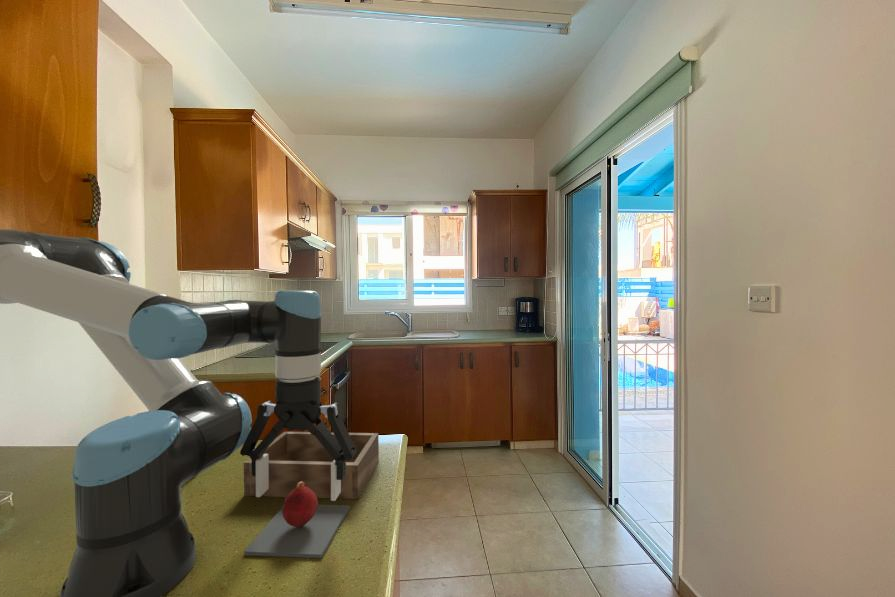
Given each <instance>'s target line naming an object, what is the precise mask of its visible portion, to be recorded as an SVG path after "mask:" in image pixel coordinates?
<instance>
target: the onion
mask: <svg viewBox="0 0 895 597" xmlns="http://www.w3.org/2000/svg"><path fill="white" fill-rule="evenodd" d="M304 484H305V483H304V482H302V481H301V482H299V483H298V484H297V486H296V488H295V489H293V490H292V491H291V492H290V493H289V494H288V495H287V497H285V499H284V500H283V505H282V507H283V509H282V514H283V517H284V519H285V521H286V522H287V523H288V524H289V525H291V526H294V527H303V526H304V525H305V524H306V523H307V522H309V521H310V520H311V519H312V517H313V516H314V514H315V512H316V510H317V505H318V498H317V496H316V494H315V493H314V491H312V490H311V489H310V488H308V487H306V486H304Z"/></svg>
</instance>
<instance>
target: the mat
mask: <svg viewBox="0 0 895 597" xmlns="http://www.w3.org/2000/svg"><path fill="white" fill-rule="evenodd" d="M282 509H283V506H282V507H281V508H280V509H279V510H278V511H277V513H275V515H274V516H273V517H272V518H271V520H270V521H269V522H268V523H267V524H266V525H265V526H264V528H263V529H262V530H261V531H260V532H259V533H258V535H257V536H256V537H255V538H254V539H253V540H252V541H251V543H250V544H249V545H248V546H247V547H246V549H245V550H244V551H243V555H244V556H257V557H259V556H260V557H278V558H279V557H282V558H284V557H285V558H286V557H287V558H305V559H306V558H310V559H322V558H323V557H324V555H325V554H326V552H327V550H328V548H329V546H330V545H331V543H332V541H333V539H334V537H335V535H336V534H337V532H338V530H339V528H340V526H341V524H342V523H343V521H344V519H345V518H346V516H347V514H348V513H349V510H350V505H341V504H340V505H337V504H335V505H334V504H317V510H316V512H315V514H314V516H313V517H312V519H311V520H310V521H309V522H307V523H306V524H305V525H304V526H303V527H294V526H291V525H289V524H288V523H287V522H286V521H285V519H284V517H283V514H282Z"/></svg>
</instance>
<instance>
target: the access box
mask: <svg viewBox="0 0 895 597" xmlns="http://www.w3.org/2000/svg"><path fill="white" fill-rule="evenodd" d="M348 433H349V435H350V437H351V439H352V441H353V443H354V446H355V448H356V450H357V451H356V453H355V454H354V456H353V457H352V459H351V460H346V474H345V476H344V478H343V479H342V480H341V493H340V494H339V496H338V497H337V499H347V500H349V499H351V500H359V498H360V497H361V495H362V493H363V491H364V489H365V488H366V485H367V484H368V482H369V480H370V478H371V477H372V475H373V472H374V470H375V469H376V466H377V465H378V463H379V460H380V457H379V454H380V452H379V451H380V450H379V448H380V447H379V433H378V432H375V433H374V432H371V433H370V432H348ZM331 434H332V435H333V436H334V437H335V435H334V433H333V432H331ZM335 439H336V437H335ZM336 440H337V439H336ZM264 454H268V465H269V489H268V490H267V491H266V492H265V493H264V494H263V495H262V496H261V497H279V498H280V497H281V498H283V497H284V498H286V497H287V495H288V494H289V493H290V492H291V491H292V490H293V489H295V488H296V486H297V484H298V483H299V482H301V481H302V482H304V483H305V484H304V486H306V487H308V488H310V489H311V490H312V491H314V493H315V494H316V496H317V499H331V463H332V462H333V461H334V459H333V458H332V456H331V455H330V454H329V453H328V451H327V450H326V449H325V448H324V447H323V445H322V444H321V443H320V442H319V440H318V439H317V438H316V437H315V435H313V434H311V433H310V432H309V431H283V432H281V433H280V434H279V435H278V436H277V437H276V438H275V440H274V441H273V442H272V443H271V444H270V445H269V447H268V448H267V449H266V451H265V452H264V453H263V455H264ZM243 492H244V494H243V495H244V496H248V497H250V496H251V497H256V476H253V475H252V460H251V458H250V457H249V458H248V459H247V460H245V461H244V462H243Z"/></svg>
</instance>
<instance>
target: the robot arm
mask: <svg viewBox="0 0 895 597" xmlns="http://www.w3.org/2000/svg"><path fill="white" fill-rule="evenodd" d="M130 268H131V267H130V263H129V260H128V259H127V257H126V256H125V255H124V253H123V252H122V251H121V250H120V249H118V248H117V247H116V246H115V245H113V244H109V243H107V242H105V241H102V240H101V241H100V240H99V241H98V240H95V239H93V238H88V237H72V236H64V235H55V234H48V233H40V232H32V231H23V230H17V229H7V228H4V229H3V228H2V229H1V228H0V304H1V305H2V304H3V305H9V304H11V305H12V304H20V305H23V306H26V307H30V308H33V309H35V310H36V309H37V310H40V311H42V312H45V313H48V314H51V315H54V316H58V317H61V318H63V319H67V320H70V321H74V322H76V323H78V324H79V325H80V326H81V328H82V330H84V331H85V333H86V335H88V336H89V338H90V339H91V340H92V341H93V342H94V343H95V345H96V346H97V348H98V349H99V350H100V351H101V353H102V354H103V355H104V356H105V358H106V359H107V361H108V362H109V363H110V364H111V366H113V367H114V369H115V370H116V371H117V373H118V374H119V375H120V376H121V377H122V379H123V380H124V381H125V383H127V385H128V386H129V388H130V389H131V390H132V392H134V394H135V395H136V396H137V397H138V399H139V400H140V401H141V403H142V404H143V405H144V407H146V409H147V410H148V411H142V412H138V413H136V414H133V415H127V416H126V415H125V416H124V417H123V416H122V417H120V418H118V419H115V420H112V421H110V422H108V423H105V424H103V425H101V426H99V427H97V428H96V429H93V430H92V431H91V432H90V431H89V433H88V434H86V435H85V436H84V437H83V438H82V439H81V440H80V442H78V444H77V446H76V448H75V451H74V463H73V469H72V472H71V478H72V480H73V482H74V500H75V501H74V505H75V532H76V533H75V534H76V535H75V536H76V538H75V539H76V548H75V551H74V553H73V556H72V560H71V562H70V565H69V566H70V567H69V570H68V575H67V577H66V579H65V580H64V582H63V583H62V586H61V589H60V591H59V597H163V596H164V595H165V594H166V593H168V592H170V591H171V590H172V589H173V588H175V587H176V586H177V585H178V584H179V583H180V582H181V581H183V579H185V577H186V576H187V575H188V574H189V572H190V571H191V569H193V566H194V565H195V561H196V558H197V550H196V548H197V547H196V539H195V537H194V535H193V534H192V533H191V531H190V529H189V526H188V523H187V520H186V519H185V516H184V514H183V512H182V502H181V500H182V499H181V498H182V496H181V495H182V494H181V493H182V492H181V487H182V486H183V485H184V484H185V483H187V482H189V481H190V480H193V479H194V478H195V477H197V476H199V475H200V474H202V473H203V472H205V471H206V470H208V469H210V468H212V467H213V466H214V465H216V464H218V463H219V462H221V461H224V460H226V459H228V458H229V457H230V456H231V455H232V454H234V453H235V452H236V451H238V450H239V449H240V451H239V454H240V455H241V456H243V457H244V456H247V457H249V458H251V460H252V475H253V476H256V496H255V497H256V498H261V497H263V496H262V495H263V494H264V493H265V492H266V491H267V490H268V489H269V465H268V454H264V455H263V453H264V452H265V451H266V449H267V448H268V447H269V445H270V444H271V443H272V442H273V441H274V440H275V438H277V437H278V436H279V435H281V434H282V431H284V429H286V430H287V432H293V431H296V430H297V431H298V432H306V431H307V430H308V431H307V432H310V433H311V434H313V435H315V437H316V438H317V439H318V440H319V442H320V443H321V444H322V445H323V447H324V448H325V449H326V450H327V451H328V453H329V454H330V455H331V456H332V458H333V459H334V461H333V462H332V463H331V498H330V501H331V502H336V500H337V499H338V498H337V497H338V496H339V494H340V493H341V480H342V479H343V478H344V476H345V474H346V460H351V459H352V457H353V456H354V454H355V453H356V451H357V450H356V448H355V446H354V443H353V441H352V439H351V437H350V435H349V433H350V432H349V431H348V429H347V427H346V425H345V423H344V421H343V419H342V417H341V415H340V414H341V413H340V407H339V404H338V402H333V403H332V404H329V405H323V404H322V400H321V398H322V377H320V374H321V373H322V351H321V350H322V349H321V348H322V347H321V343H322V342H321V339H322V338H321V337H322V334H321V333H322V318H323V313H322V307H321V306H322V305H321V296H320V293H318V292H317V291H315V290H278V291H276V292H275V295H274V300H269V301H266V300H264V301H263V300H262V301H261V300H241V299H234V300H233V299H229V300H220V301H214V302H213V301H207V302H192V301H191V302H190V301H186V300H183V299H180V298H177V297H172V296H170V295H166V294H164V293H161V292H157V291H154V290H150V289H147V288H145V287H142V286H141V287H140V286H137V285H136V284H135V285H134V284H132V283H130V280H131V271H129V270H128V269H130ZM250 343H251V344H253V343H254V344H255V343H256V344H258V343H259V344H260V343H261V344H264V343H265V344H274V350H275V351H274V353H275V356H274V358H275V359H274V361H275V362H274V365H275V366H274V369H275V370H274V376H275V377H276V378H277V379H276V380H275V382H274V385H275V386H274V388H275V389H274V390H275V391H274V392H275V395H274V396H275V399H274V400H275V401H276V403H272V401H271V400H267V401H265V402H263V403H260V405H258V406H257V410H256V411H257V413H256V418H255V421H254V423H253V424H252V422H253V420H252V413H251V409H250V406H249V405H248V403H247V402H246V401H245V399H244V398H243V397H241V396H240V395H238V394H236V393H231V392H223V393H222V392H221V391H219V389H218V388H217V387H216V386H215V385H214V383H213V382H212V381H210V380H199V379H198V378H197V377H196V376H195V375H194V374H193V373H192V371H191V369H189V367H188V366H187V365H186V364H185V363H184V362H183V360H182V358H186V357H189V356H191V355H196V354H200V353H204V352H208V351H212V350H217V349H223V348H228V347H233V346H237V345H242V344H250ZM273 414H275V416H276V418H277V419H278V421H277V422H276V423H274V425H273V426H272V428H271V430H270V431H269V432H268V433H267V434H266V436H265V437H264V438H263V439H262V440H261V441H260V443H259V444H258V442H259V439H260V437H261V436H262V434H263V431H264V430H265V428H266V425H267V424H268V421H269V420H270V418H271V415H273ZM321 414H323V415H324V418H325V419H327V421H328V424H329V426H330V428H331V430H332V432H331V431H330V430H329V428H327V426H326V424H325V421H324V420H323V419H322V417H321ZM331 433H334V435H335V437H336V439H337V440H336V439H335V437H334V436H333V435H332V434H331ZM257 444H258V445H257Z"/></svg>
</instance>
